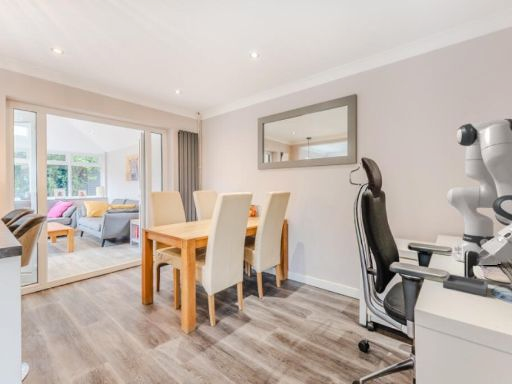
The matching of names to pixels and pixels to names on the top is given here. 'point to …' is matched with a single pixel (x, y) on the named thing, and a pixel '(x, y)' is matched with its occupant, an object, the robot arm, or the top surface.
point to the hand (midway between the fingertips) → (478, 260)
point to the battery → (470, 263)
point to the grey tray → (466, 284)
